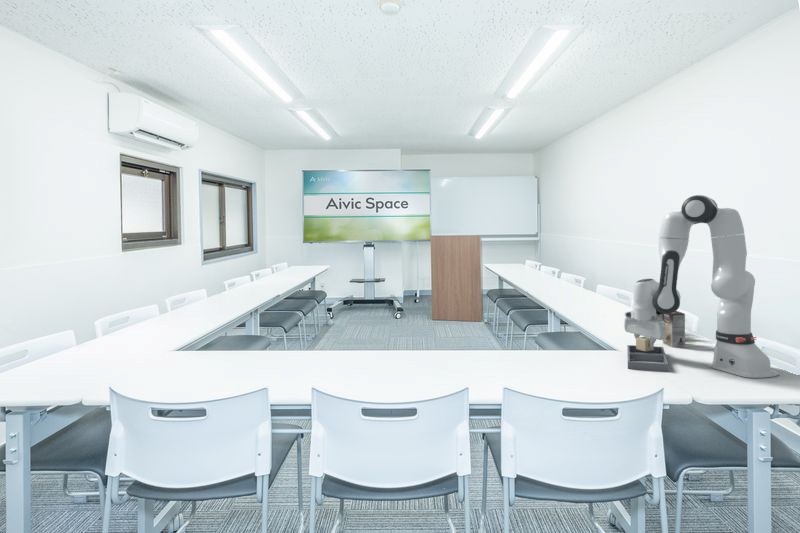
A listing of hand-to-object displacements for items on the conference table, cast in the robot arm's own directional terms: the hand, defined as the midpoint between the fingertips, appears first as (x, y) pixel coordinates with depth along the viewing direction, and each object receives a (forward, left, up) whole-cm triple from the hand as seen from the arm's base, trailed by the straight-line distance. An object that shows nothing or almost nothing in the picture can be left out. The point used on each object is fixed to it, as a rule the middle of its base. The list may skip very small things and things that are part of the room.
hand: (645, 345), depth 209 cm
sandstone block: (0, 0, -2) cm, 2 cm away
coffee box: (+15, -24, -5) cm, 28 cm away
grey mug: (+42, -34, -5) cm, 54 cm away
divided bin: (-6, +3, -5) cm, 9 cm away
